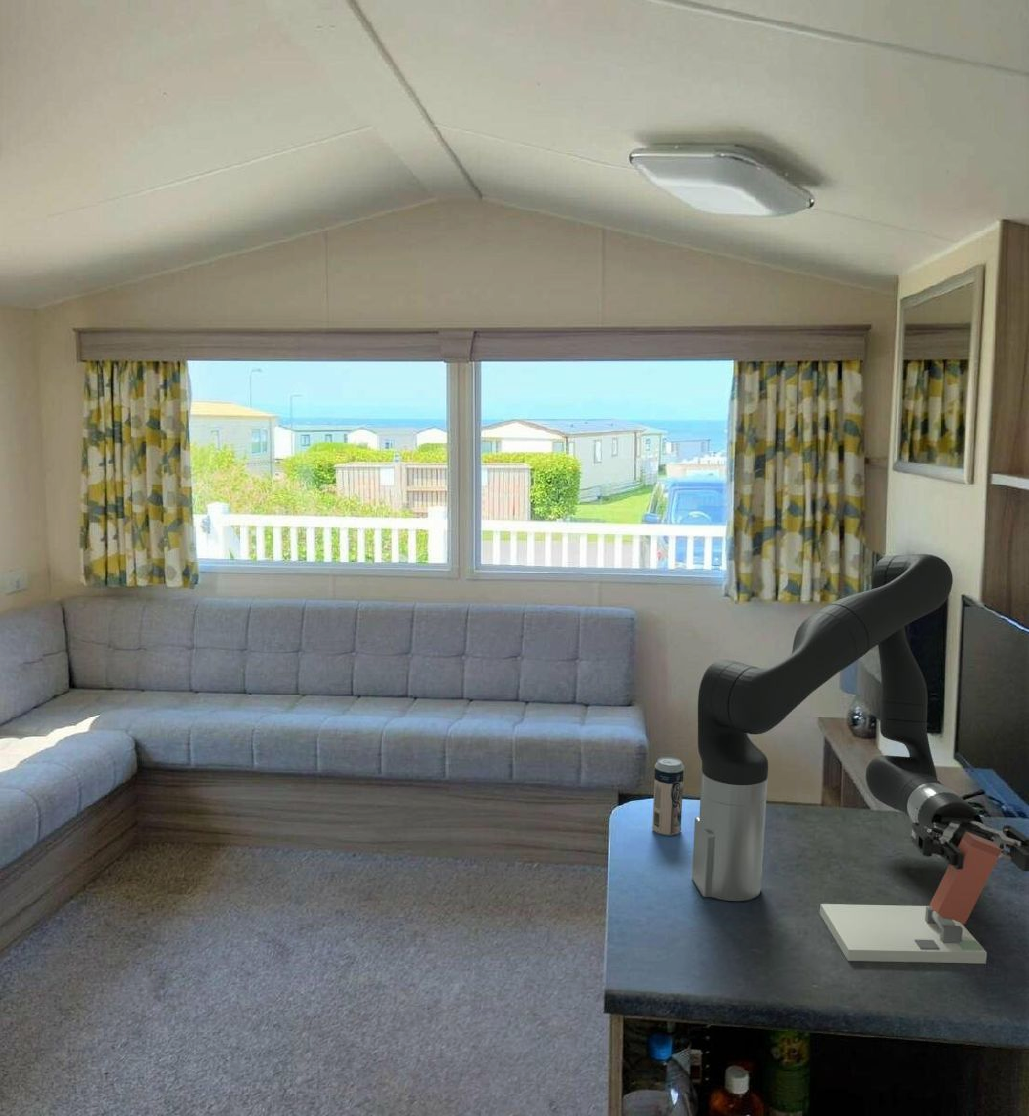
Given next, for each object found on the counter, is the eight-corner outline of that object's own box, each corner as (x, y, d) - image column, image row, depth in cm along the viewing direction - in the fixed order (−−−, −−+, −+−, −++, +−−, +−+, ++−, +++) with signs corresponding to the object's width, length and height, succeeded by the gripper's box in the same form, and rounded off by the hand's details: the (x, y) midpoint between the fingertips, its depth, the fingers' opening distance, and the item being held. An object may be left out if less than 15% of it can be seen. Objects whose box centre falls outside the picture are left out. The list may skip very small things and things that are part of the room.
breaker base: (847, 960, 129) (849, 934, 129) (819, 914, 141) (821, 890, 141) (985, 963, 129) (988, 937, 129) (946, 916, 141) (948, 892, 141)
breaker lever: (931, 927, 132) (975, 840, 131) (922, 915, 136) (964, 830, 134) (959, 938, 133) (1003, 851, 131) (949, 926, 136) (991, 840, 134)
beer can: (680, 838, 165) (684, 767, 163) (650, 835, 166) (653, 764, 164) (681, 827, 170) (685, 757, 168) (652, 824, 171) (655, 755, 169)
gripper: (895, 790, 146) (940, 833, 130) (994, 792, 146) (1053, 837, 130) (891, 840, 147) (936, 889, 131) (990, 843, 147) (1047, 893, 131)
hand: (994, 863), depth 131 cm, fingers open, 8 cm apart
